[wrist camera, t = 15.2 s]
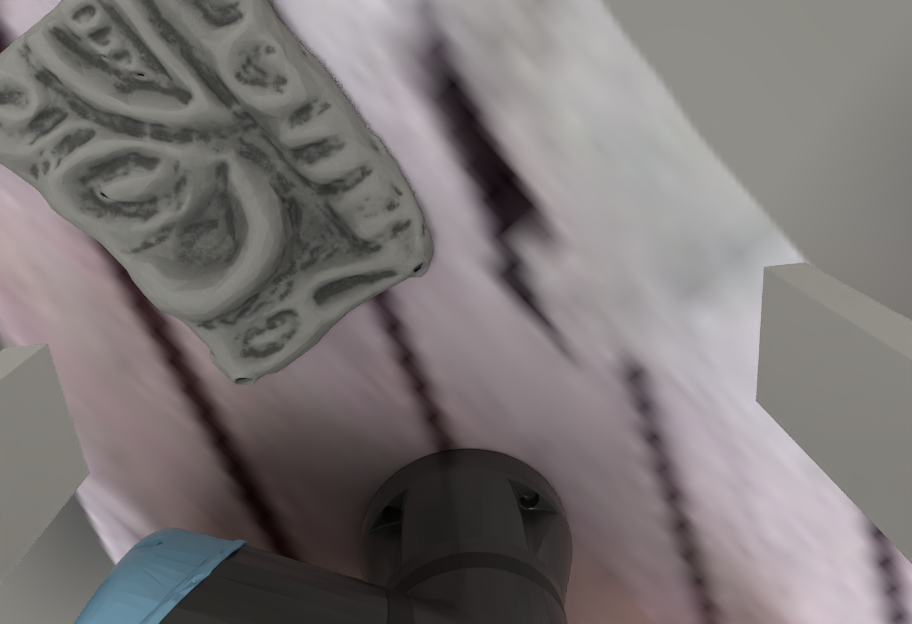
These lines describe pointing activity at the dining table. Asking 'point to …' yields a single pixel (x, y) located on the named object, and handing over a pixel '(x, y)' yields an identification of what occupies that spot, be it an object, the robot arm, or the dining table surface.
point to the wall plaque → (211, 169)
